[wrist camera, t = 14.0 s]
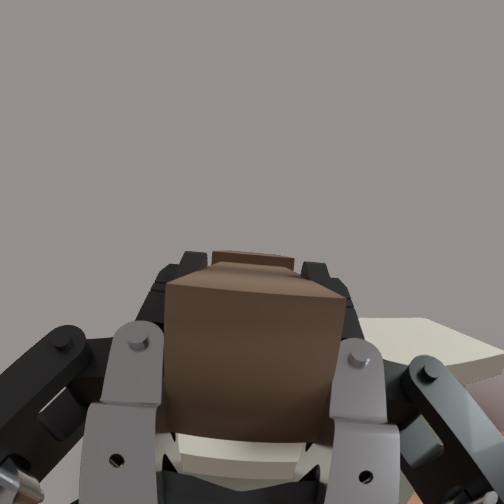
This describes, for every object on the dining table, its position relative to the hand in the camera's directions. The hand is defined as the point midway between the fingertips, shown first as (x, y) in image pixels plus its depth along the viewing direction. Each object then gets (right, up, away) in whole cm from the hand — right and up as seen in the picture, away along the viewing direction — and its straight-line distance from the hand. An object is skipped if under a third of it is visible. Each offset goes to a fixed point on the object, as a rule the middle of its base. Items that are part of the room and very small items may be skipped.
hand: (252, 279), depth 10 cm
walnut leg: (0, -4, +6) cm, 7 cm away
